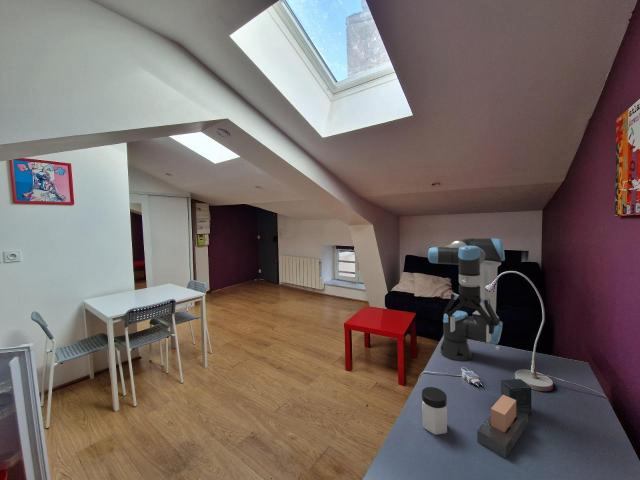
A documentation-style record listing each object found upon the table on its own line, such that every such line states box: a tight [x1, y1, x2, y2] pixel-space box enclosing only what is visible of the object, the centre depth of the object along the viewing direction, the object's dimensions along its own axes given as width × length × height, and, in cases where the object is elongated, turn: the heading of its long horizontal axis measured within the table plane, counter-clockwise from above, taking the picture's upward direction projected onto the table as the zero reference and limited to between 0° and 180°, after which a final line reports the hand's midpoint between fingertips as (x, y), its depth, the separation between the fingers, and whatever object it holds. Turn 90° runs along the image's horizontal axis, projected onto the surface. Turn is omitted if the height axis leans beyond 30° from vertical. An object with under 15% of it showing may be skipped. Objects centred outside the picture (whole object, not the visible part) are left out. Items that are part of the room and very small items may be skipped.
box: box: [500, 378, 533, 415], centre depth 101 cm, size 8×6×11 cm
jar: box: [421, 386, 448, 436], centre depth 95 cm, size 9×8×12 cm
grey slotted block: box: [476, 408, 529, 459], centre depth 91 cm, size 22×8×4 cm, turn 128°
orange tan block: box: [490, 395, 516, 434], centre depth 91 cm, size 11×4×10 cm, turn 128°
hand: (469, 335), depth 108 cm, fingers open, 13 cm apart
